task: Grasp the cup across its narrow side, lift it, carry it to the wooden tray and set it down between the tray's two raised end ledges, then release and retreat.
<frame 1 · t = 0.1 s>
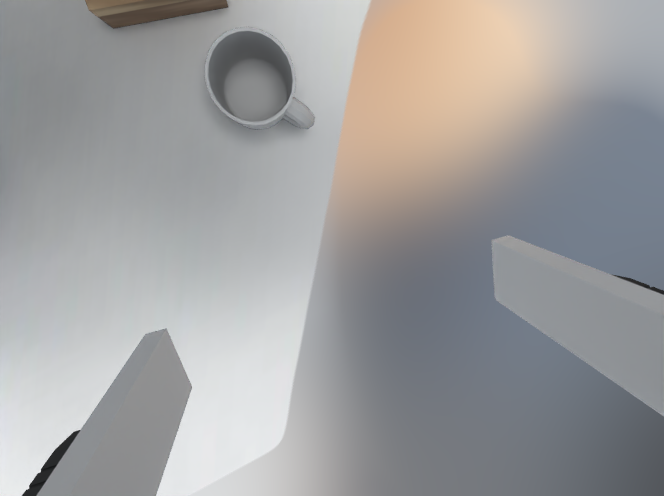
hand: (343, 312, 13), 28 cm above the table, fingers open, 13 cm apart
cup: (268, 101, 36), on the table
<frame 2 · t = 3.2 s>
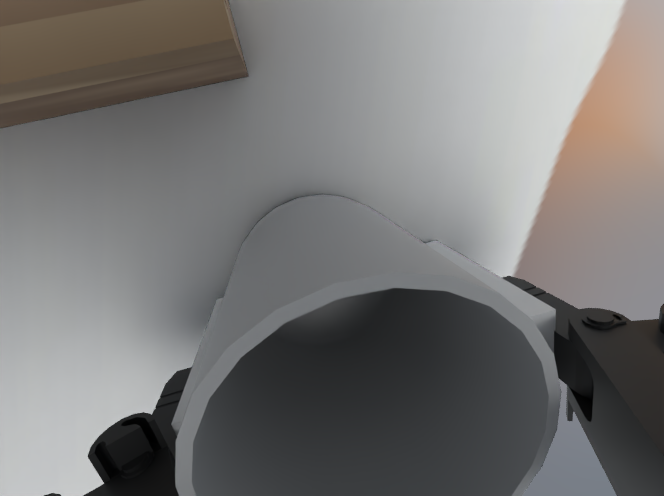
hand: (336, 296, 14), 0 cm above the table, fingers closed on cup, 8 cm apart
cup: (346, 285, 15), on the table, touching gripper
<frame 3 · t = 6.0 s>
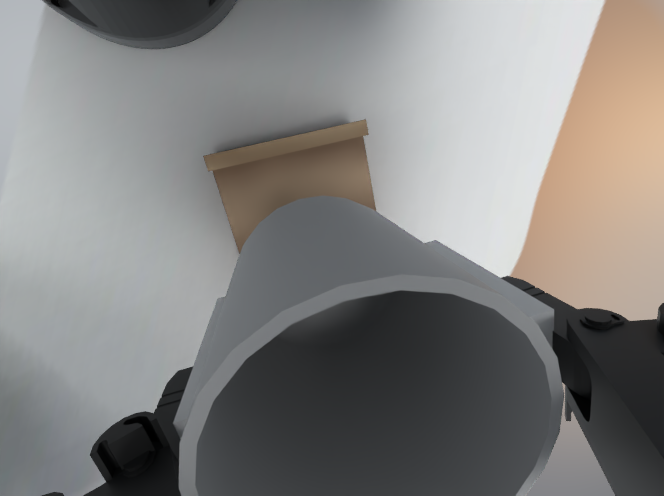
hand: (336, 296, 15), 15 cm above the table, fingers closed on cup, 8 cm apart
wooden tray: (305, 222, 28), on the table
cup: (347, 287, 15), point 14 cm above the table, touching gripper
when the fingers open (4 cm above the table, at t = 8.6 s): cup stays where it is, resting on wooden tray.
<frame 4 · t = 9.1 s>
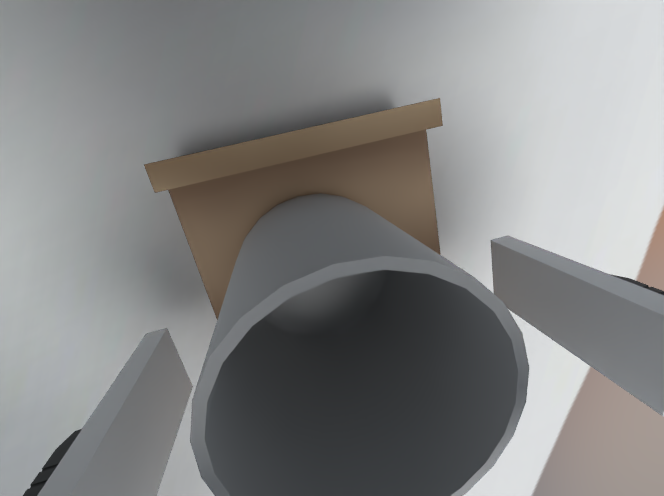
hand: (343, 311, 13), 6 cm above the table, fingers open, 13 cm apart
wooden tray: (322, 263, 19), on the table
cup: (341, 280, 16), point 3 cm above the table, touching wooden tray
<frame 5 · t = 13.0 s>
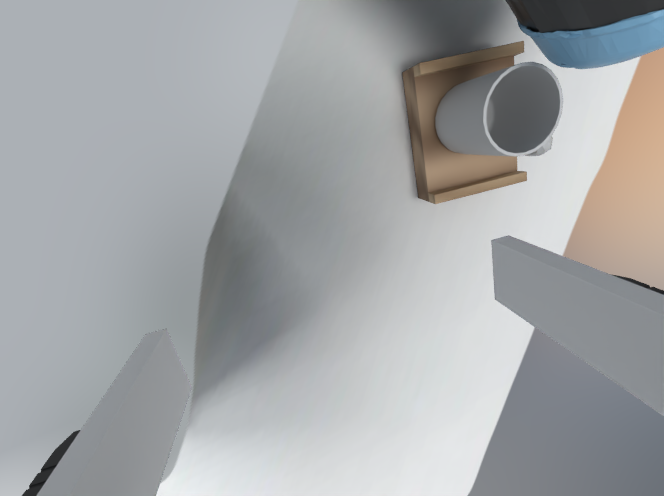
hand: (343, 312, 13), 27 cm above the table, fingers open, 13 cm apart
wooden tray: (455, 128, 39), on the table
cup: (472, 126, 36), point 3 cm above the table, touching wooden tray
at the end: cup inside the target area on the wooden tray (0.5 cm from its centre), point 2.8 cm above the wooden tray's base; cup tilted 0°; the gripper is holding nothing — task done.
